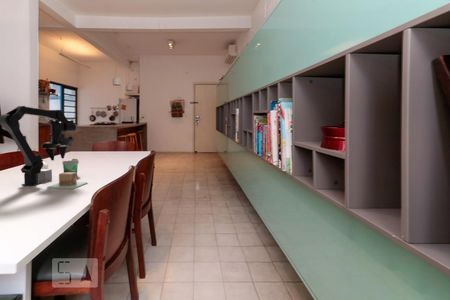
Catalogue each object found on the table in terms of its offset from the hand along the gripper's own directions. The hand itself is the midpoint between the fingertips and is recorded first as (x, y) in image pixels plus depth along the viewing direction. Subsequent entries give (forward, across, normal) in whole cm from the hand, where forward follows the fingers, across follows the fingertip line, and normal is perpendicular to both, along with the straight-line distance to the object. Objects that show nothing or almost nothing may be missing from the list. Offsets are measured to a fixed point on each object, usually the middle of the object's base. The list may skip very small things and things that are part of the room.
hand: (57, 159), depth 179 cm
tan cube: (+11, -13, -14) cm, 22 cm away
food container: (+12, +13, -1) cm, 18 cm away
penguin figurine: (+12, +9, +15) cm, 21 cm away
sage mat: (+12, -13, -14) cm, 23 cm away
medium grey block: (+12, -2, +8) cm, 14 cm away
